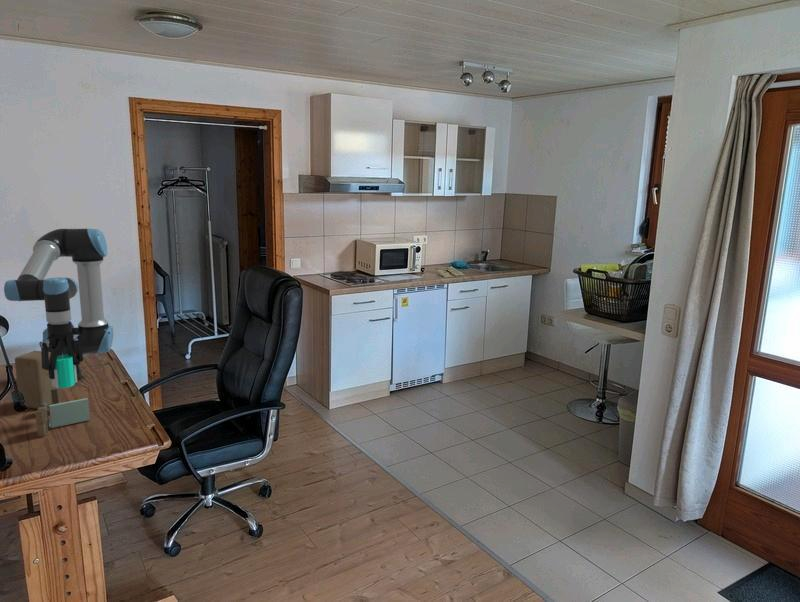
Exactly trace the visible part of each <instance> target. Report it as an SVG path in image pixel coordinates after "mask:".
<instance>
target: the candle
mask: <svg viewBox="0 0 800 602" xmlns="http://www.w3.org/2000/svg"><path fill="white" fill-rule="evenodd" d="M55 369H56V370H57V375H58V385H59V387H58V388H61V389H68V388H71V387H73V386H75V384H76V383H75V381H74V370H73V358H72V356H69V355H63V353H62V355H60V356H57V360H56V365H55Z"/></svg>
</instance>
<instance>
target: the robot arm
mask: <svg viewBox="0 0 800 602" xmlns="http://www.w3.org/2000/svg"><path fill="white" fill-rule="evenodd" d="M34 243H35V244H33V247H32V251H33V252H32V254H31V256H30V257H29V259H28V260H27V263H26V264H25V266H24V267H23V269H22V271H21V272H20V274H19V275H18V277H17V279H9V280H7V281H5V283H4V286H3V293H4V297H5V299H6V300H7V301H11V302H29V301H31V302H33V301H35V302H36V301H44V308H45V320H46V322H47V323H46V328H45V329H44V330H43V331H42V341H40V342H38V345H39V346H40V351H41V357H42V369H45V370H48V372H49V378H50V379H52V386H53V387H55V388H58V387H59V385H58V375H57V370H56V369H55V365H56V360H57V356H60V355H62V353H63V355H69V356H72V358H73V370H74V381H75V384H76V383H78V379H81V378H82V377H83V370H82V368H81V366H80V364H81V363H82V362H83V361H84V355H89V354H90V355H91V354H93V355H95V354H97V355H99V354H106V353H109V352H110V351H111V349H112V345H113V342H114V341H113V340H114V327H113V325H112V326H111V325H109V321H108V320H107V319H106V318H105V314H104V313H105V312H104V301H103V300H104V299H103V289H102V288H103V287H102V276H101V263H102V262H104V258H105V257H108V256H107V255H108V244H107V240H106V237H105V235H104V232H103V231H101V230H100V229H98V228H96V229H95V228H58V229H53V230H52V231H49V232H47V233H45V234H44V235H42V236H41V237H39V238H38V239H37V241H35V242H34ZM59 257H60V258H63V257H69V258H71V259H72V262H73V263H74V264H75V265H76V271H77V281H76V280H74V279H73V278H71V277H60V276H59V277H49V278H46V276H47V274H48V272H49V271H50V269H51V266H52V265H53V263H54V262H55V261H57V260H58V259H59ZM78 292H79V304H80V316H81V321H80V322H78V324H77V327H75V326H74V324H73V323H72V321H71V320H72V314H71V313H72V312H71V302H70V300H71V299H72V298H74V297H75V296H76V294H77V293H78ZM49 352H51V354H50V358H49Z"/></svg>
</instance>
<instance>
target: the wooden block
mask: <svg viewBox="0 0 800 602" xmlns="http://www.w3.org/2000/svg"><path fill="white" fill-rule="evenodd" d="M50 354H51V352H49V358H50ZM14 364H15V373H16V382H17V392H18V391H19V392H21V393H22V394H23V396H24V400H25V402H24V405H25V406H26V407H25V408H29V409H37V410H38V408H39V407H40V404H42V403H47V407H49V405H52V397H51V389H52V388H54V387H53V386H52V379H50V378H49V372H48V370H45V369H42V357H41V350H32V351H29V352H26V353H24V354H21V355H17V356H15V358H14Z"/></svg>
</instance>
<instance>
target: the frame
mask: <svg viewBox="0 0 800 602" xmlns="http://www.w3.org/2000/svg"><path fill="white" fill-rule="evenodd" d="M51 397H52V404H51V405H53V404H58V403H63V398H62V388H55V387H54V388H52V389H51ZM48 410H49V409H48V406H47V403H42V404H40V407H39V408H38V409H37V410H36V411H35V412H34V413H35V415H34V416H35V423H36V429H37V430H36V432H37V438H45V437H46V436H47V434H48V433H49V430H50V429H51V422H50V418H49V411H48Z"/></svg>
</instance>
